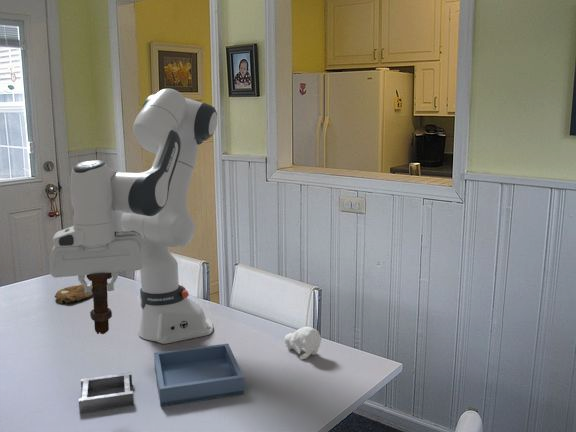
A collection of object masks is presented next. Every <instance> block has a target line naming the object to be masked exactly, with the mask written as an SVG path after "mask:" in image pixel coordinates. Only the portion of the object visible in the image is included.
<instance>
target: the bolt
mask: <svg viewBox="0 0 576 432" xmlns="http://www.w3.org/2000/svg"><path fill="white" fill-rule="evenodd" d="M112 278H113V277H112V275H111V273H96V274H89V275H86V279H88V281H89V282H91V285H92V286H93V294H92V302H93V309H91V310H90V313H89V314H90V315H89V316H90V319H91V320H92V321H93V322H94V331H95V333H96V334H97V335H99V334H100V335H104V334H106V333H108V332H109V329H110V324H109V320H110V319H111V318H112V317H113V312H112V310H111V308H110V307H109V305H108V291H107V282H108V280H109V279H112Z"/></svg>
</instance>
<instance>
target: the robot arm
mask: <svg viewBox="0 0 576 432" xmlns="http://www.w3.org/2000/svg"><path fill="white" fill-rule="evenodd" d="M217 126H218V113H217V110H216V107H215V106H213V105H211V104H209V103H206V102H200V101H197V100H194V99H192V98H188V97H185V96H184V95H183V94H182V93H181V92H180V91H178V90H176V89H173V88H163V89H160V90H158V92H156V93H153V94H150V95H149V96H148V97H146V98H145V100H144V101H143V104H142V107H141V110H140V112H139V113H138V114H137V116H136V118H135V120H134V122H133V126H132V130H133V135H134V138H135V139H136V142H137V143H138V144H139V145H140V147H142V148H143V149H144V150H146V151H147V152H149V153H151V154H155V157H154V159H153V162H152V165H151V167H150V169H148V170H145V171H140V172H134V171H133V172H129V171H117V170H114V169H112V168H111V167H109V166H108V165H107V162H106V161H104V160H101V159H100V160H99V159H96V160H95V159H94V160H93V159H92V160H87V161H86V160H85V161H81V162H79V163H77V164H76V165H74V166H73V167H72V170H71V172H70V180H69V181H70V182H69V185H70V187H69V188H70V204H71V206H72V209H73V219H72V225H71V226H69V227H67V228H64V229H61V230H59V231H57V232H55V234H54V235H53V237H52V243H53V247H52V249H51V252H50V254H49V255H50V257H49V275H50V276H51V277H52V278H54V279H57V278H66V277H77V280H78V282H79V283H80V285H83V287H84V292H85V293H91V292H92V290H91V285H92V283H88V282H87V281H86V280H85V279H86V276H87V275H89V274H96V273H111V275H112V278H111V280H110V281H107V292H113V291H115V285H114V284H115V282H116V281H117V279H118V277H119V273H120V272H121V273H123V272H130V271H135V272H136V271H139V273H140V285H141V288H140V290H139V291H140V292H139V301H140V308H141V319H140V325H139V329H138V335H139V337H140V338H142V339H144V340H147V341H153V342H157V343H159V344H163V345H165V344H170V343H176V342H180V341H185V340H191V339H195V338H199V337H204V336H208V335H211V334H212V333H213V331H214V326H213V323H212V320H210V319H209V317H207V316H206V315H205V311H204V310H203V307H202V306H201V305H200V304H199V303H197V302H195V301H194V300H192V299H191V298H188V297H189V291H188V290H186V287H184V285H183V284H181V285H180V284H179V265H178V261H177V259H176V257H175V256H174V255H173V254H172V253H171V251H170V250H169V248H179V247H185V246H187V245H188V244H189V243H190V242H191V241H192V240H193V238H194V236H195V235H194V234H195V231H196V230H195V228H196V227H195V223H194V219H193V217H192V216H191V215H190V212H189V210H188V209H189V208H188V192H189V188H190V182H191V180H192V177H193V173H194V169H195V166H196V162H197V161H196V160H197V156H198V148H199V146H200V145H201V144H203V143H204V142H205V141H208V140H209V139H210V138H211V137H212V136H213V135H214V133H215V130H216V129H217ZM113 212H114V213H122V216H121V218H120V226H121V227H120V228H121V229H122V231H116V226H115V216H114V213H113Z"/></svg>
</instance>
